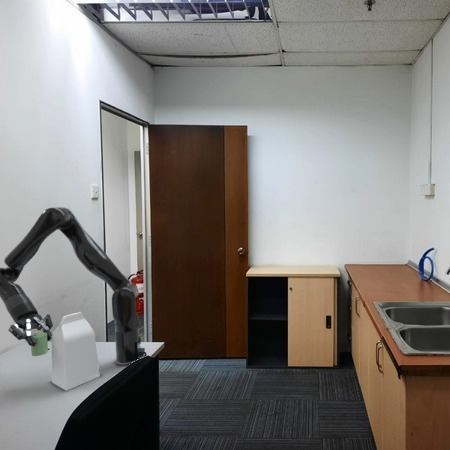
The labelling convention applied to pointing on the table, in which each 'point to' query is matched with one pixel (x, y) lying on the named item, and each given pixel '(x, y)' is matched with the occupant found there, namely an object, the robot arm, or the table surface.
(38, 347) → the soap bottle
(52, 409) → the table surface
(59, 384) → the milk
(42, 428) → the table surface
